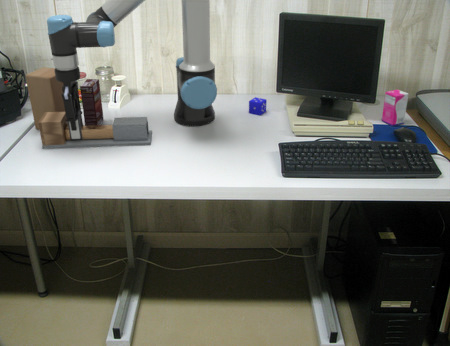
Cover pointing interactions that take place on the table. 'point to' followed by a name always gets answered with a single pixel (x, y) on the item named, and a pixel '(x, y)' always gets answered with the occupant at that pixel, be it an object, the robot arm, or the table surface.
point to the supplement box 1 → (92, 102)
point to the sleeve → (130, 129)
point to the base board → (100, 143)
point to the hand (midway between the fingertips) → (77, 135)
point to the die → (257, 106)
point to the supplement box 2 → (394, 107)
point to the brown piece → (89, 130)
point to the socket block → (53, 128)
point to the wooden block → (44, 93)
